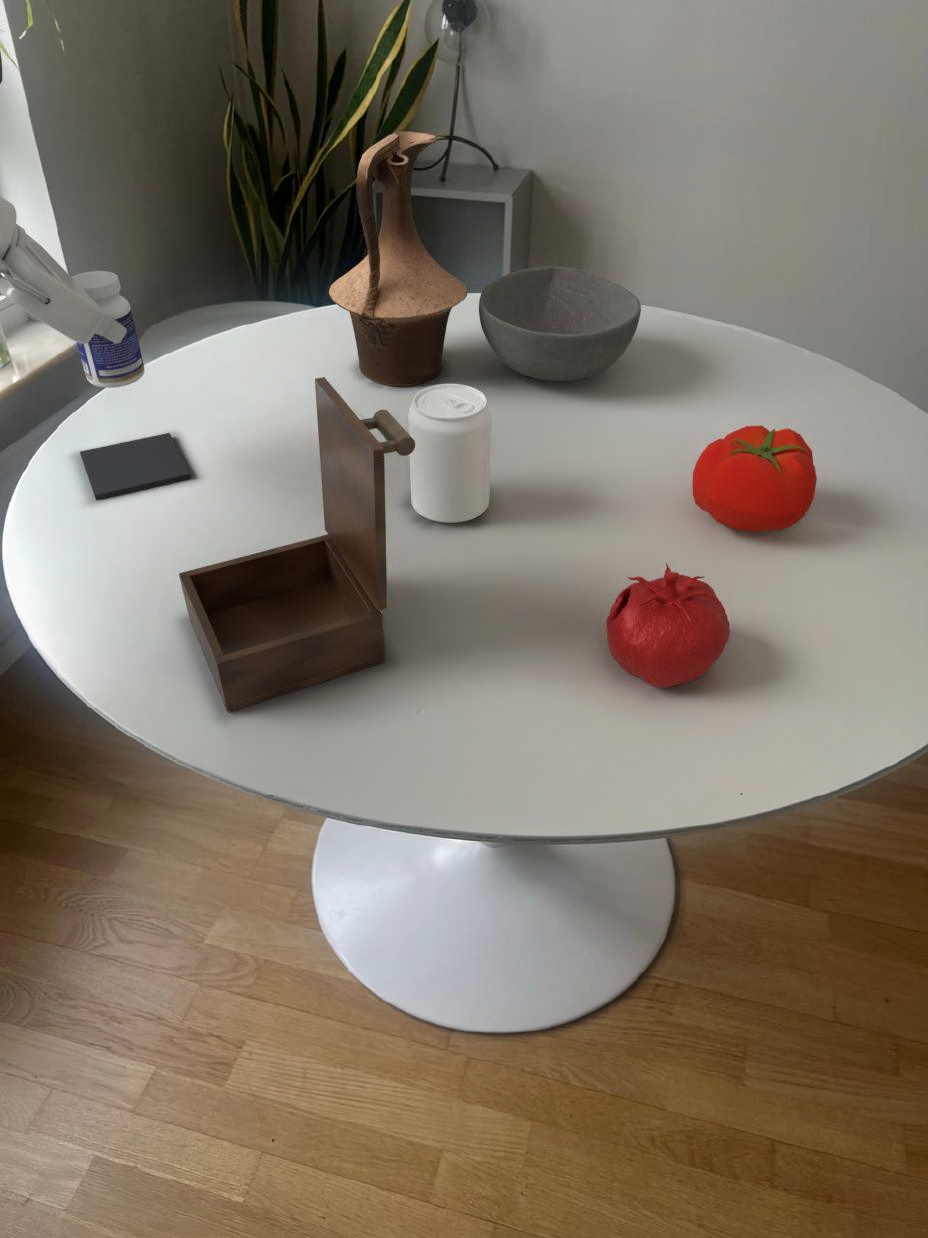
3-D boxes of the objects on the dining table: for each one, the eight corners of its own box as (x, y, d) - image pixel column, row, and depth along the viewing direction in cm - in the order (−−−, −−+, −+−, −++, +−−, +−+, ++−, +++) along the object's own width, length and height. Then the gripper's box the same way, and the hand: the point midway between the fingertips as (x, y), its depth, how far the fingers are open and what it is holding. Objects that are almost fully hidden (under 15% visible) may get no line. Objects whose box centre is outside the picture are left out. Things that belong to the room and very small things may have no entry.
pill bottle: (157, 369, 96) (135, 272, 89) (124, 393, 91) (99, 293, 85) (109, 361, 97) (85, 264, 91) (74, 384, 93) (46, 285, 86)
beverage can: (442, 477, 101) (441, 374, 94) (504, 501, 98) (508, 395, 90) (395, 510, 96) (390, 404, 89) (458, 536, 93) (459, 428, 85)
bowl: (452, 389, 117) (452, 311, 111) (509, 329, 132) (512, 257, 125) (607, 419, 111) (616, 339, 105) (649, 353, 126) (659, 279, 119)
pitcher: (433, 410, 113) (429, 161, 95) (310, 386, 118) (283, 144, 100) (485, 353, 126) (490, 123, 107) (371, 333, 130) (358, 109, 112)
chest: (227, 712, 74) (216, 663, 71) (189, 620, 83) (178, 573, 79) (386, 662, 79) (382, 614, 75) (334, 580, 87) (329, 533, 84)
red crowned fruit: (745, 670, 78) (769, 583, 72) (655, 717, 74) (673, 628, 68) (664, 607, 84) (681, 522, 78) (577, 646, 80) (588, 559, 74)
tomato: (737, 564, 90) (756, 488, 84) (663, 499, 98) (676, 427, 93) (839, 532, 94) (863, 458, 88) (759, 473, 102) (777, 402, 97)
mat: (95, 500, 97) (94, 495, 97) (80, 456, 104) (79, 451, 104) (191, 478, 101) (190, 473, 100) (170, 437, 108) (169, 432, 107)
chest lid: (373, 450, 66) (437, 437, 67) (314, 378, 74) (372, 368, 76) (377, 611, 75) (433, 596, 77) (324, 530, 83) (376, 518, 85)
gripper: (20, 240, 73) (164, 331, 84) (-38, 177, 86) (93, 263, 97) (-21, 307, 74) (127, 389, 85) (-73, 235, 87) (62, 314, 98)
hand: (109, 322), depth 91 cm, fingers closed on pill bottle, 6 cm apart
